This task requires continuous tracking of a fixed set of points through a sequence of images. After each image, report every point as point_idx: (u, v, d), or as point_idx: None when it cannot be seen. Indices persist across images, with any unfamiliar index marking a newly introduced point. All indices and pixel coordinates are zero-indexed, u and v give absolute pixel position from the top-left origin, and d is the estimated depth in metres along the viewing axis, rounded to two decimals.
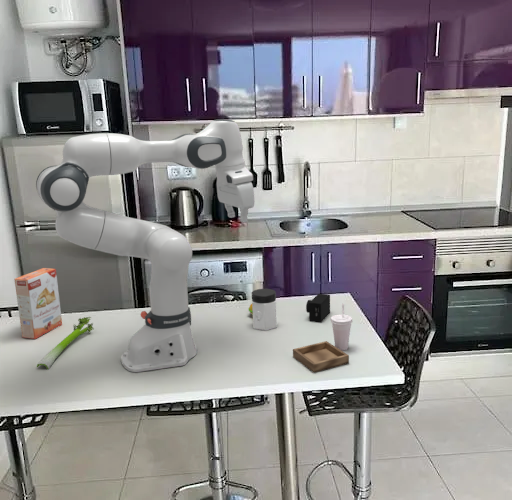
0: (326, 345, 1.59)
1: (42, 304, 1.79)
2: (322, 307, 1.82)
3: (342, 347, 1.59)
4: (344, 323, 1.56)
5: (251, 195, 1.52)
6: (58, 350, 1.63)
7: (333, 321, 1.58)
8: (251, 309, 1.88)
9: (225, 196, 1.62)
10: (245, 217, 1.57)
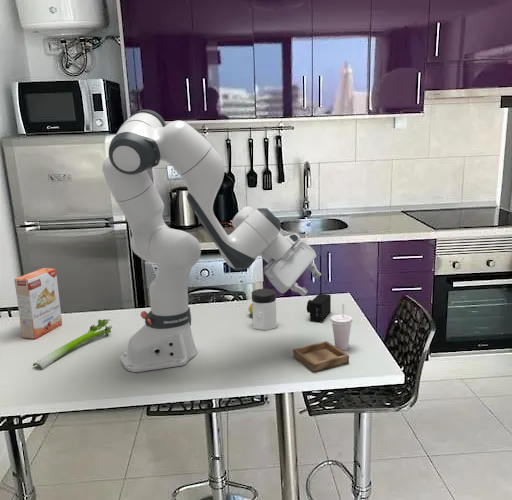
0: (326, 345, 1.59)
1: (42, 304, 1.79)
2: (323, 307, 1.82)
3: (342, 347, 1.59)
4: (344, 323, 1.56)
5: None
6: (61, 351, 1.62)
7: (333, 321, 1.58)
8: (251, 309, 1.88)
9: (293, 270, 1.51)
10: None
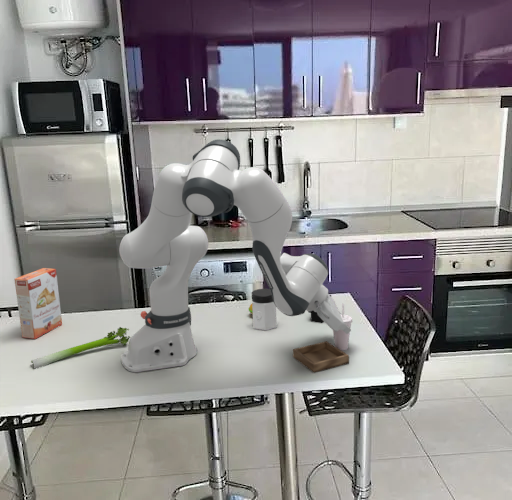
0: (326, 345, 1.59)
1: (42, 304, 1.79)
2: None
3: (342, 347, 1.59)
4: None
5: None
6: (63, 353, 1.60)
7: None
8: (251, 309, 1.88)
9: (335, 310, 1.56)
10: None
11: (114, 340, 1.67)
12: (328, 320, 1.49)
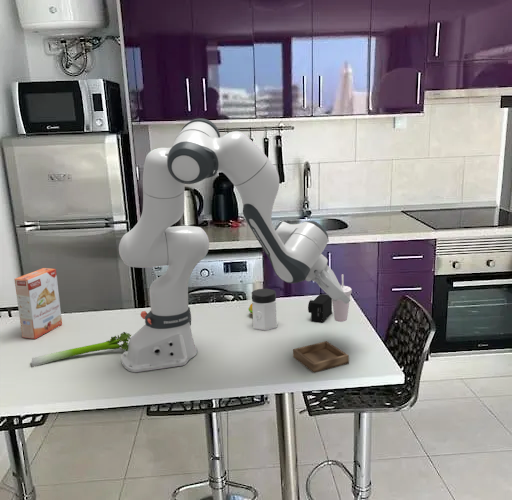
0: (326, 345, 1.59)
1: (42, 304, 1.79)
2: (324, 307, 1.82)
3: (341, 318, 1.58)
4: None
5: None
6: (62, 354, 1.60)
7: None
8: (251, 309, 1.88)
9: (335, 280, 1.54)
10: None
11: (115, 345, 1.63)
12: (328, 289, 1.47)
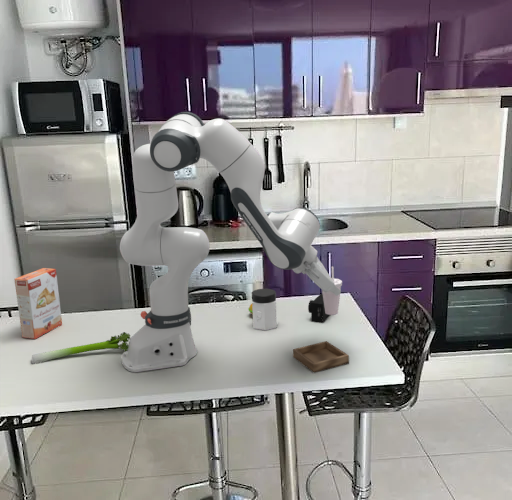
0: (326, 345, 1.59)
1: (42, 304, 1.79)
2: (324, 307, 1.82)
3: (332, 311, 1.55)
4: None
5: None
6: (62, 352, 1.61)
7: None
8: (251, 309, 1.88)
9: (325, 271, 1.51)
10: None
11: (114, 345, 1.63)
12: (318, 280, 1.44)
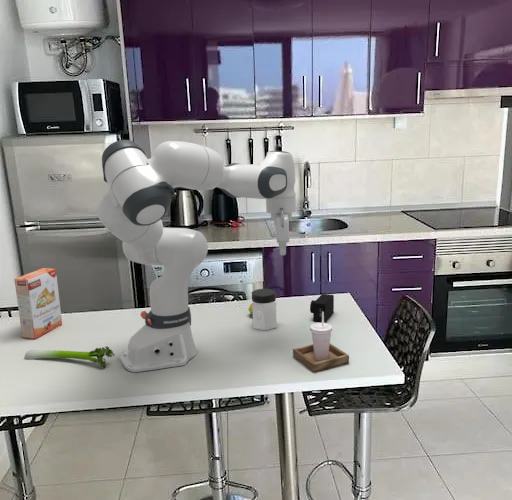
0: None
1: (42, 304, 1.79)
2: (326, 307, 1.82)
3: (322, 357, 1.52)
4: (323, 332, 1.49)
5: None
6: (50, 353, 1.60)
7: (312, 330, 1.50)
8: (251, 309, 1.88)
9: None
10: None
11: (92, 358, 1.55)
12: (280, 228, 1.50)
